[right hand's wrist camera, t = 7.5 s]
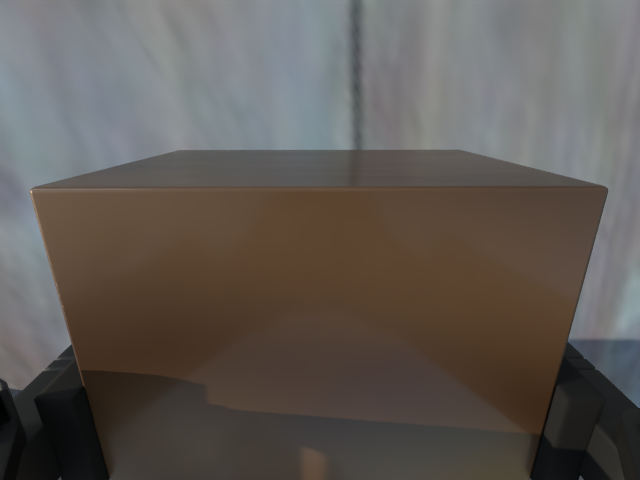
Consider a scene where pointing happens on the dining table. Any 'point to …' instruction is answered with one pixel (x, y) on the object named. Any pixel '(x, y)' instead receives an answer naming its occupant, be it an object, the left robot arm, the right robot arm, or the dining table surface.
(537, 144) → the dining table surface
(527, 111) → the dining table surface
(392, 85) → the dining table surface
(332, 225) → the thick board
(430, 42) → the dining table surface
